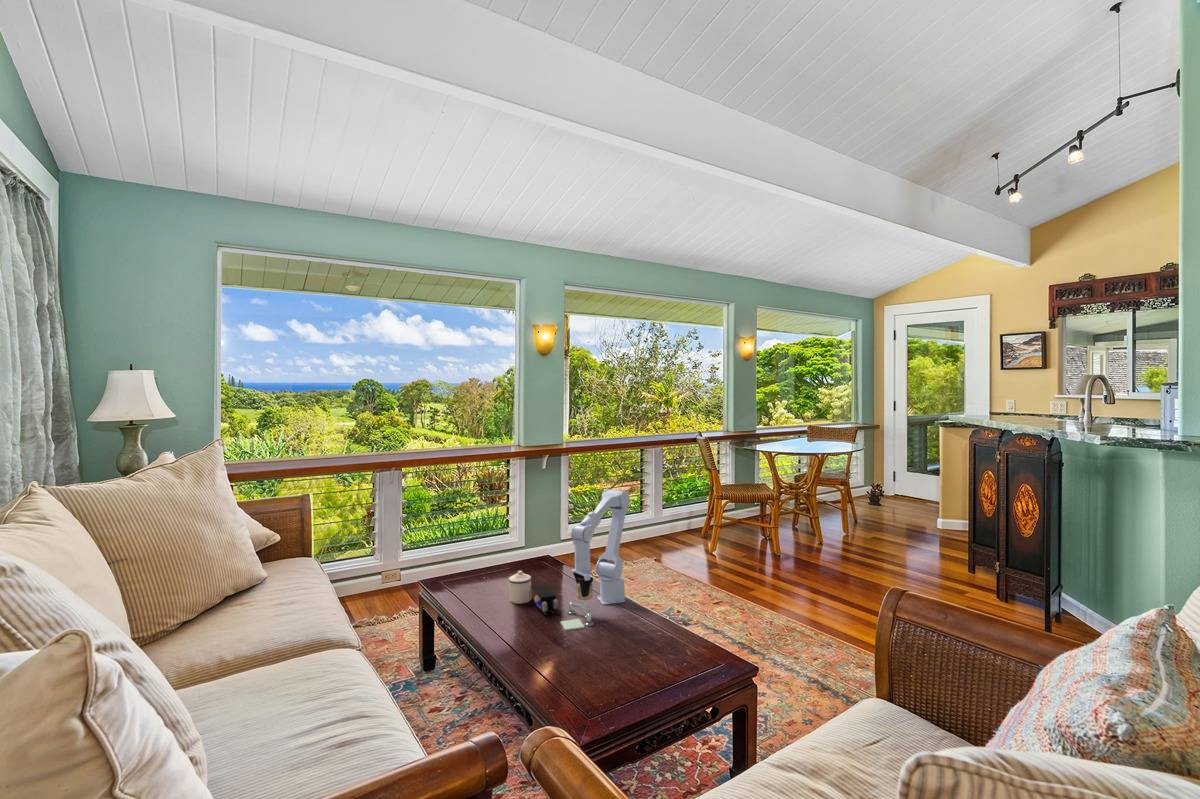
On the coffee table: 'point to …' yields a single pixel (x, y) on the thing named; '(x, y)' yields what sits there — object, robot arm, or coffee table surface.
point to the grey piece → (587, 615)
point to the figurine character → (545, 598)
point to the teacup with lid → (520, 588)
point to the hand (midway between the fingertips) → (582, 593)
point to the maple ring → (581, 594)
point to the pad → (572, 624)
